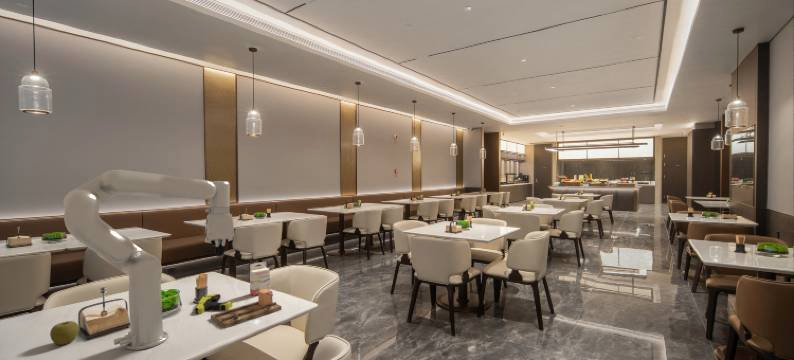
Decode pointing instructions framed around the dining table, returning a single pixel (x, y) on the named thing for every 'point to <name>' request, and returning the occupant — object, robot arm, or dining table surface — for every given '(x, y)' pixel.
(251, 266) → the ink cartridge box
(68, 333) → the apple
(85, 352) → the dining table surface
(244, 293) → the dining table surface
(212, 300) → the stun gun
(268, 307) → the wooden slatted tray
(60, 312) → the dining table surface
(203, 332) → the dining table surface
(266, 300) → the orange tan block
